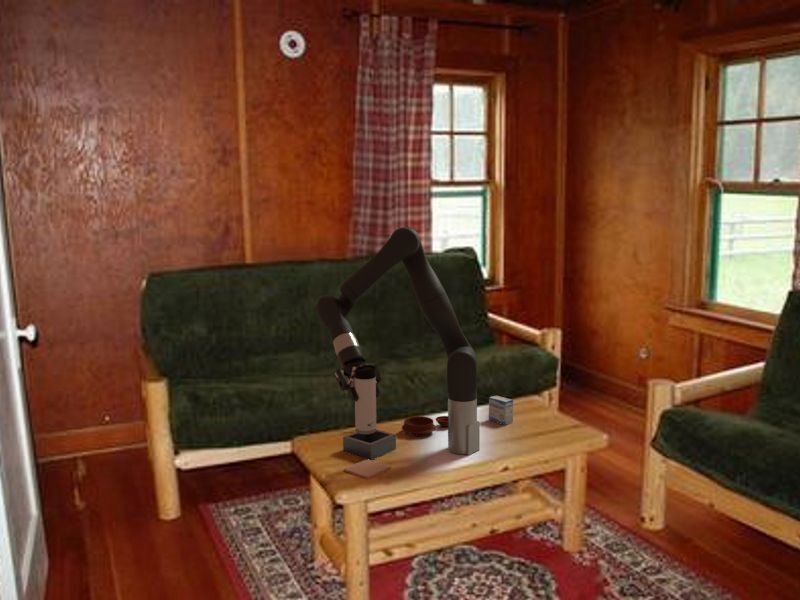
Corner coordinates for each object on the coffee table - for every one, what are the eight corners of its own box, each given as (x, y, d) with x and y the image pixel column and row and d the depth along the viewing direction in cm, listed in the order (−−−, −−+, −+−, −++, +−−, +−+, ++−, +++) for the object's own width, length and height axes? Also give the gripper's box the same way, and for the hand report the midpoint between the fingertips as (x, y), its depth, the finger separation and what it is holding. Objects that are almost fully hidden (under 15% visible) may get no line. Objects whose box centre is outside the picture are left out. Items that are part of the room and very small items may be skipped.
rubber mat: (390, 468, 217) (390, 466, 217) (368, 479, 209) (368, 477, 209) (366, 460, 223) (366, 458, 223) (343, 470, 216) (343, 468, 216)
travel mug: (374, 435, 211) (373, 369, 208) (353, 433, 212) (351, 368, 209) (379, 428, 217) (378, 363, 214) (358, 426, 218) (357, 362, 215)
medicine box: (488, 420, 259) (488, 397, 258) (496, 417, 262) (496, 394, 261) (505, 425, 254) (505, 402, 252) (513, 422, 257) (513, 399, 255)
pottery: (395, 431, 250) (395, 419, 249) (442, 421, 260) (442, 409, 259) (413, 441, 240) (413, 429, 239) (462, 430, 250) (461, 417, 250)
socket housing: (396, 449, 232) (395, 434, 232) (371, 460, 223) (370, 445, 223) (368, 441, 240) (368, 427, 239) (343, 451, 231) (342, 437, 230)
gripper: (330, 347, 214) (348, 395, 206) (373, 341, 221) (392, 388, 213) (323, 361, 219) (341, 408, 211) (365, 355, 226) (384, 400, 218)
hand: (367, 398), depth 212 cm, fingers closed on travel mug, 6 cm apart
